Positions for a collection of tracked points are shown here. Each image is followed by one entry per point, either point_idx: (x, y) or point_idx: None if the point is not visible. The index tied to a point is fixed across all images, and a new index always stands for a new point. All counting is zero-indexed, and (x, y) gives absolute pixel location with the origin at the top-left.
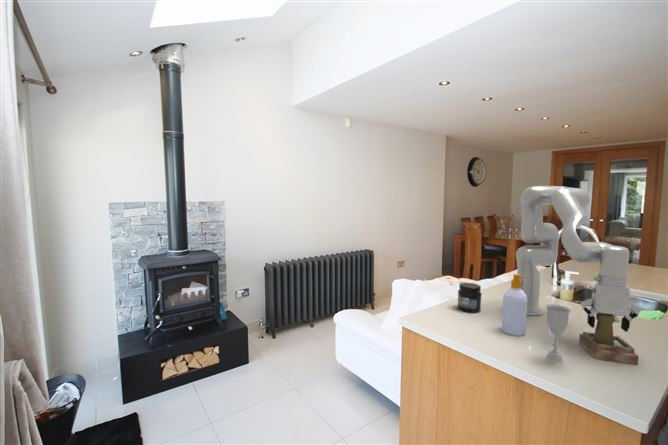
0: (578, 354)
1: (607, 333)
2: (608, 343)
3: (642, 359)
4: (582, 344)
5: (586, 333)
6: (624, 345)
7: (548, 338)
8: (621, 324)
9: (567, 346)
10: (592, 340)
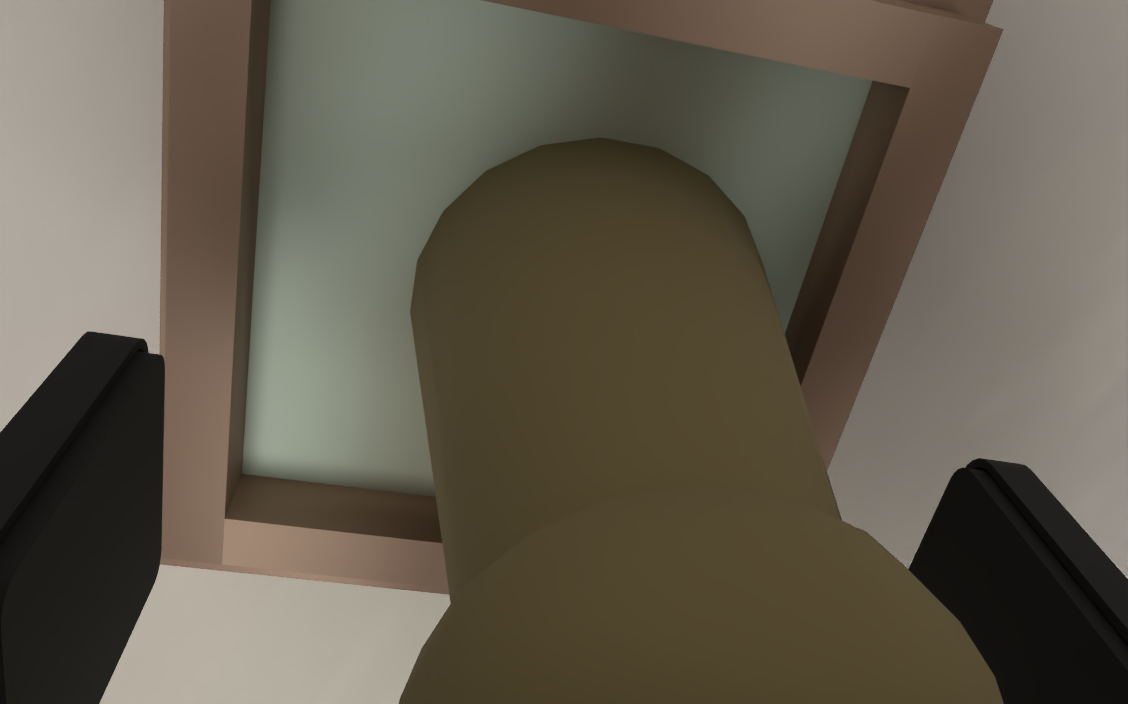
0: (1100, 44)
1: (665, 293)
2: (609, 167)
3: (4, 23)
4: None
5: None
6: (253, 181)
7: (1121, 548)
8: (122, 643)
9: (1044, 331)
10: (900, 240)
